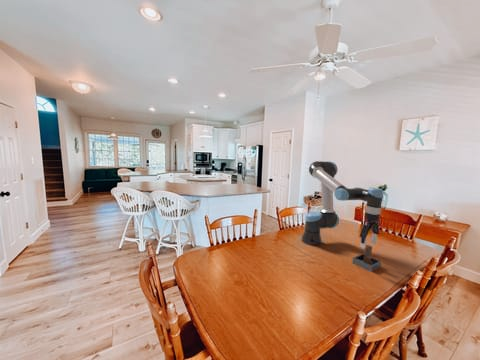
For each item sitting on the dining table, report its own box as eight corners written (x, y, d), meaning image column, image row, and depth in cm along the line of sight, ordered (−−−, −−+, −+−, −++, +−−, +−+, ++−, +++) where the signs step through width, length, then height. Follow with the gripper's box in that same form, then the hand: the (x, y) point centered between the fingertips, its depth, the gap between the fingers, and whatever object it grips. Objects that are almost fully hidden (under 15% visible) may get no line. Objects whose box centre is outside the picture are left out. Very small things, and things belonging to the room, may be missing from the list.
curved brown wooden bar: (363, 263, 130) (365, 245, 128) (364, 262, 131) (367, 244, 129) (368, 265, 127) (370, 247, 126) (369, 264, 128) (372, 246, 127)
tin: (352, 262, 131) (352, 257, 130) (361, 258, 137) (362, 253, 136) (371, 271, 121) (372, 266, 120) (380, 266, 127) (381, 261, 127)
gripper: (369, 217, 115) (364, 252, 118) (388, 212, 128) (383, 243, 131) (355, 214, 121) (351, 247, 124) (375, 209, 135) (371, 239, 138)
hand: (368, 245), depth 128 cm, fingers open, 13 cm apart
